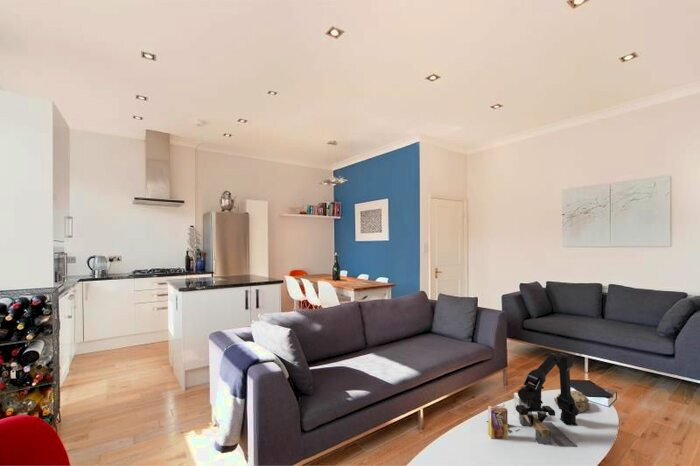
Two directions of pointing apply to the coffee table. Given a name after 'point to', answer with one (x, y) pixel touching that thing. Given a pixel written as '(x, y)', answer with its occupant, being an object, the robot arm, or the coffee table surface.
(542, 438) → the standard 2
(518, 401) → the supplement box
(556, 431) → the mat
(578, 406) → the rock
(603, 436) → the coffee table surface
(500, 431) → the candy box
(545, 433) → the rail
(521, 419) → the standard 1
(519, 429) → the eiffel tower figurine
